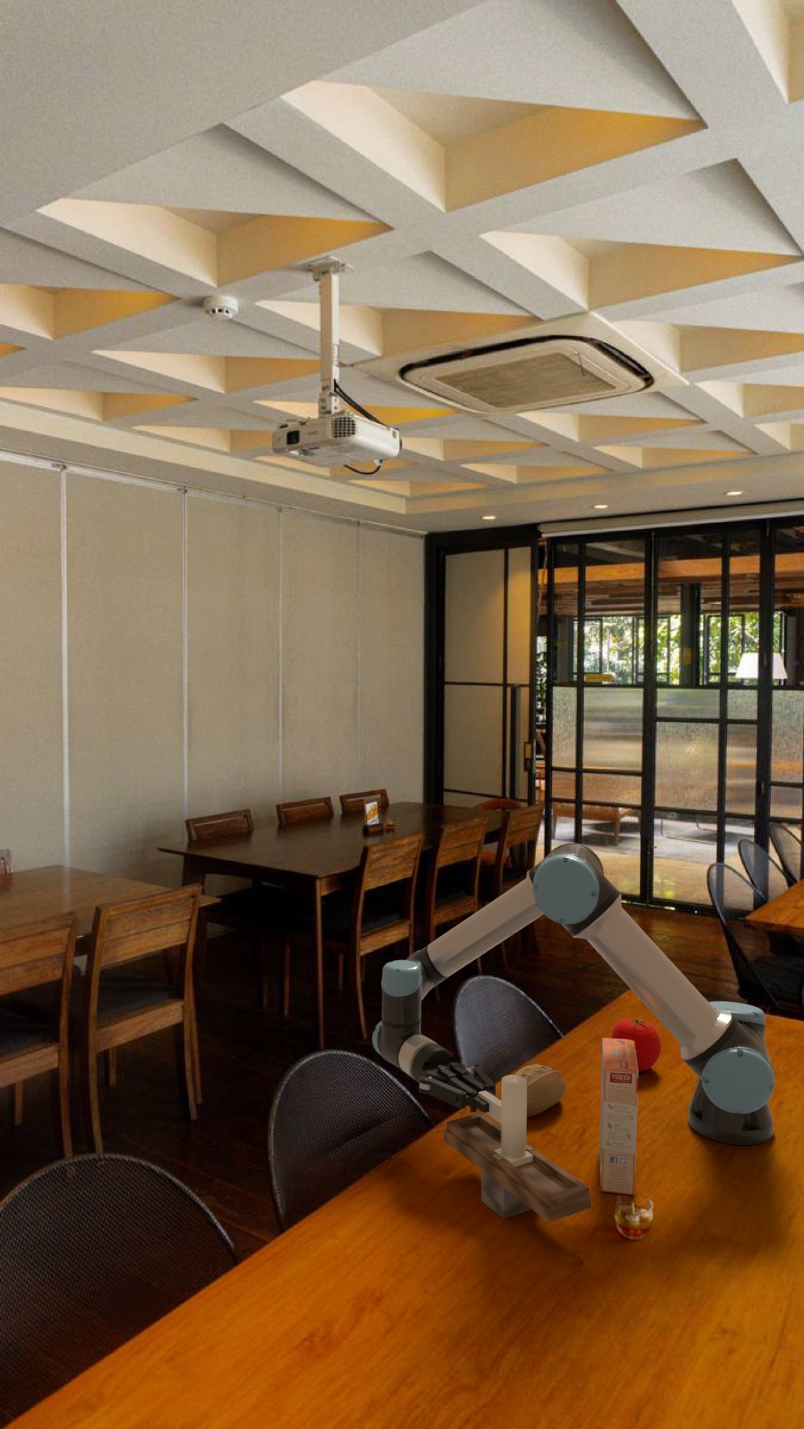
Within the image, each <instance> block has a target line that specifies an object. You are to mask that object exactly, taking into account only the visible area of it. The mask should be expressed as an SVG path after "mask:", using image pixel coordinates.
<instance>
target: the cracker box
mask: <svg viewBox="0 0 804 1429" xmlns="http://www.w3.org/2000/svg"><path fill="white" fill-rule="evenodd" d="M601 1041H602V1043H601V1069H600V1070H601V1075H600V1076H601V1077H600V1078H601V1079H600V1081H601V1082H600V1109H599V1110H600V1111H599V1112H600V1115H599V1117H600V1118H599V1149H598V1150H599V1154H598V1155H599V1182H600V1183H599V1184H600V1192H603V1193H612V1194H621V1195H628V1196H635V1194H636V1169H637V1168H636V1164H637V1163H636V1161H637V1131H638V1130H637V1128H638V1126H637V1125H638V1124H637V1123H638V1097H639V1096H638V1094H639V1093H638V1092H639V1072H638V1065H637V1058H636V1050H635V1042H634V1041H633V1040H628V1039H613V1038H611V1037H602V1040H601Z"/></svg>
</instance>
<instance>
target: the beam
mask: <svg viewBox="0 0 804 1429" xmlns="http://www.w3.org/2000/svg"><path fill="white" fill-rule="evenodd" d="M443 1130H444V1131H443V1132H444V1133H443V1136H444V1138H443V1140H444V1141H443V1142H445V1144H447V1145H448V1146H450V1147H451V1148H452V1149H454V1150H455V1151H456V1152H458V1153H459V1154H460V1155H461V1156H463V1157H464V1158H465V1159H467V1160H468V1161H469V1162H471V1163H472V1164H473V1165H474V1166H475V1167H477V1168H478V1169H480V1170H481V1177H480V1178H481V1181H480V1183H481V1185H480V1186H481V1188H480V1189H481V1190H480V1191H481V1192H480V1196H481V1198H480V1200H481V1202H482V1203H483V1204H485V1205H486V1206H487V1207H489V1208H490V1209H491V1210H492V1211H493V1212H495V1214H497V1215H498V1216H500V1217H501V1218H502V1219H503V1220H505V1219H509V1218H510V1217H513V1216H515V1215H519V1214H521V1213H525V1212H527V1211H530V1210H532V1211H533V1212H535V1213H536V1214H537V1215H538V1216H540V1217H541V1218H543V1220H545V1221H546V1222H547V1223H549V1224H550V1223H552V1222H556V1221H558V1220H561V1219H564V1218H567V1217H569V1216H572V1215H575V1214H578V1213H580V1212H583V1211H586V1210H588V1209H591V1208H592V1194H591V1193H590V1187H589V1186H588V1185H586V1184H585V1183H583V1182H582V1181H580V1180H579V1179H577V1178H576V1177H574V1176H573V1175H571V1174H570V1173H569V1172H567V1171H566V1170H565V1169H563V1168H561V1167H560V1166H558V1165H557V1164H555V1163H554V1162H553V1161H551V1160H550V1159H548V1158H547V1157H545V1156H544V1155H542V1153H539V1152H538V1151H537V1150H535V1149H534V1148H533V1147H532V1146H531V1145H529V1144H528V1143H526V1151H528V1152H529V1153H530V1154H532V1155H533V1162H530V1163H527V1164H523V1165H520V1166H517V1167H514V1166H513V1165H511V1164H510V1163H509V1162H507V1161H506V1160H505V1159H503V1157H502V1156H500V1155H499V1154H498V1153H495V1152H494V1150H496V1149H500V1148H501V1125H499V1124H498V1123H496V1122H495V1121H494V1120H492V1119H491V1118H489V1117H488V1116H486V1115H485V1114H484V1113H483V1112H477V1113H474V1114H470V1115H467V1116H463V1117H459V1118H457V1119H453V1120H449V1121H446V1128H444V1129H443Z"/></svg>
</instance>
